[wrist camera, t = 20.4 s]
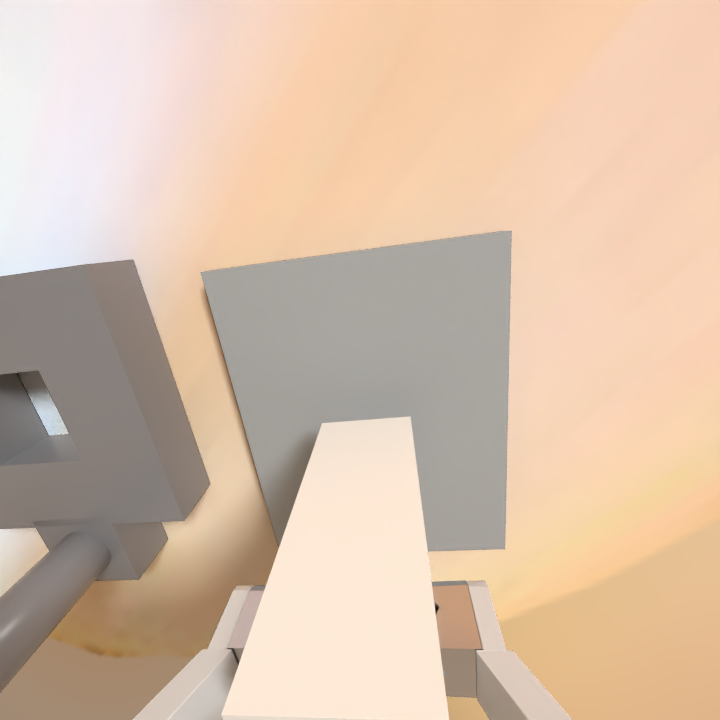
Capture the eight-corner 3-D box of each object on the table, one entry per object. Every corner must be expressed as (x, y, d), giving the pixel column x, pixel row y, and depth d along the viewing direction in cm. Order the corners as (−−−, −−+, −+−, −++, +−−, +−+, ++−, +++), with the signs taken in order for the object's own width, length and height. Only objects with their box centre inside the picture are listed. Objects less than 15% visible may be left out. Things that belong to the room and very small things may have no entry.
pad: (285, 540, 23) (280, 555, 22) (212, 269, 17) (200, 272, 16) (498, 532, 21) (505, 549, 20) (502, 231, 15) (511, 230, 14)
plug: (335, 493, 17) (270, 821, 7) (322, 423, 15) (221, 714, 6) (417, 489, 16) (457, 833, 7) (410, 416, 15) (449, 721, 6)
